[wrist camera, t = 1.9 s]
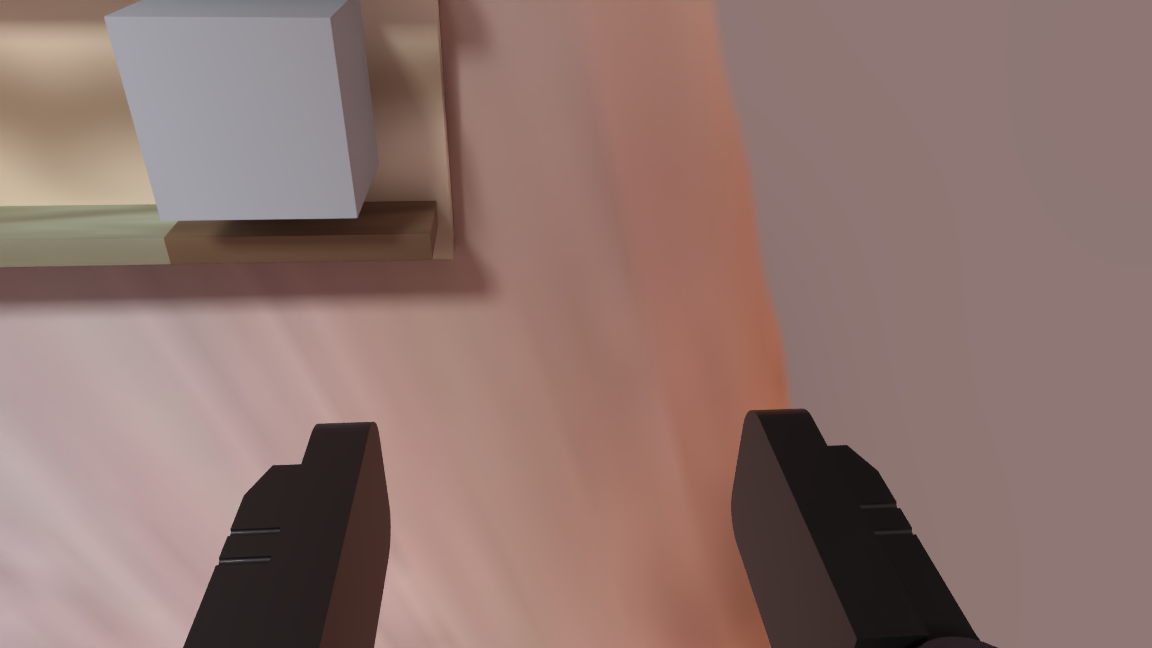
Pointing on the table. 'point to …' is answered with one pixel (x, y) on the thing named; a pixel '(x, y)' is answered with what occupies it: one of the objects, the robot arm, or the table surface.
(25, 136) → the track
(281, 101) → the slate block
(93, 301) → the table surface
